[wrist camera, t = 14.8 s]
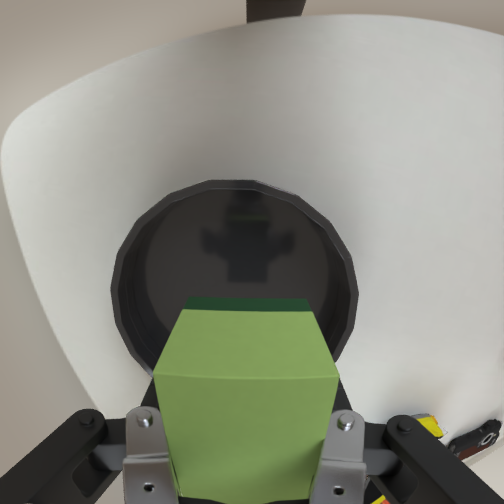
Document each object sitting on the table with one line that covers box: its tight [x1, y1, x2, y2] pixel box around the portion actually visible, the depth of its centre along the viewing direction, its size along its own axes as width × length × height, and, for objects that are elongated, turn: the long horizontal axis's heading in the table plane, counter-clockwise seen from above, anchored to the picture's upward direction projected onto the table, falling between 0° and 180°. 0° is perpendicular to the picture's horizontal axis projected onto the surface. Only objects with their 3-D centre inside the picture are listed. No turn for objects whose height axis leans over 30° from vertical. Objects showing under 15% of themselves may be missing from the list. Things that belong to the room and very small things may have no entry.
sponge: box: [153, 297, 340, 504], centre depth 10 cm, size 7×4×5 cm, turn 179°
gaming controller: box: [363, 414, 447, 504], centre depth 26 cm, size 15×6×10 cm
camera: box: [448, 419, 503, 460], centre depth 29 cm, size 6×3×11 cm
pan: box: [111, 180, 359, 378], centre depth 22 cm, size 17×17×4 cm
